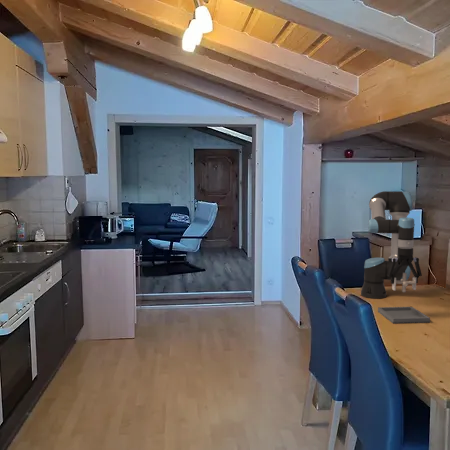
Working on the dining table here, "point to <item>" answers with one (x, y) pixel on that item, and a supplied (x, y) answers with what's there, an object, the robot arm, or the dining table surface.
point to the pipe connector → (404, 282)
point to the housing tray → (403, 315)
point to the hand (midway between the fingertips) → (403, 289)
